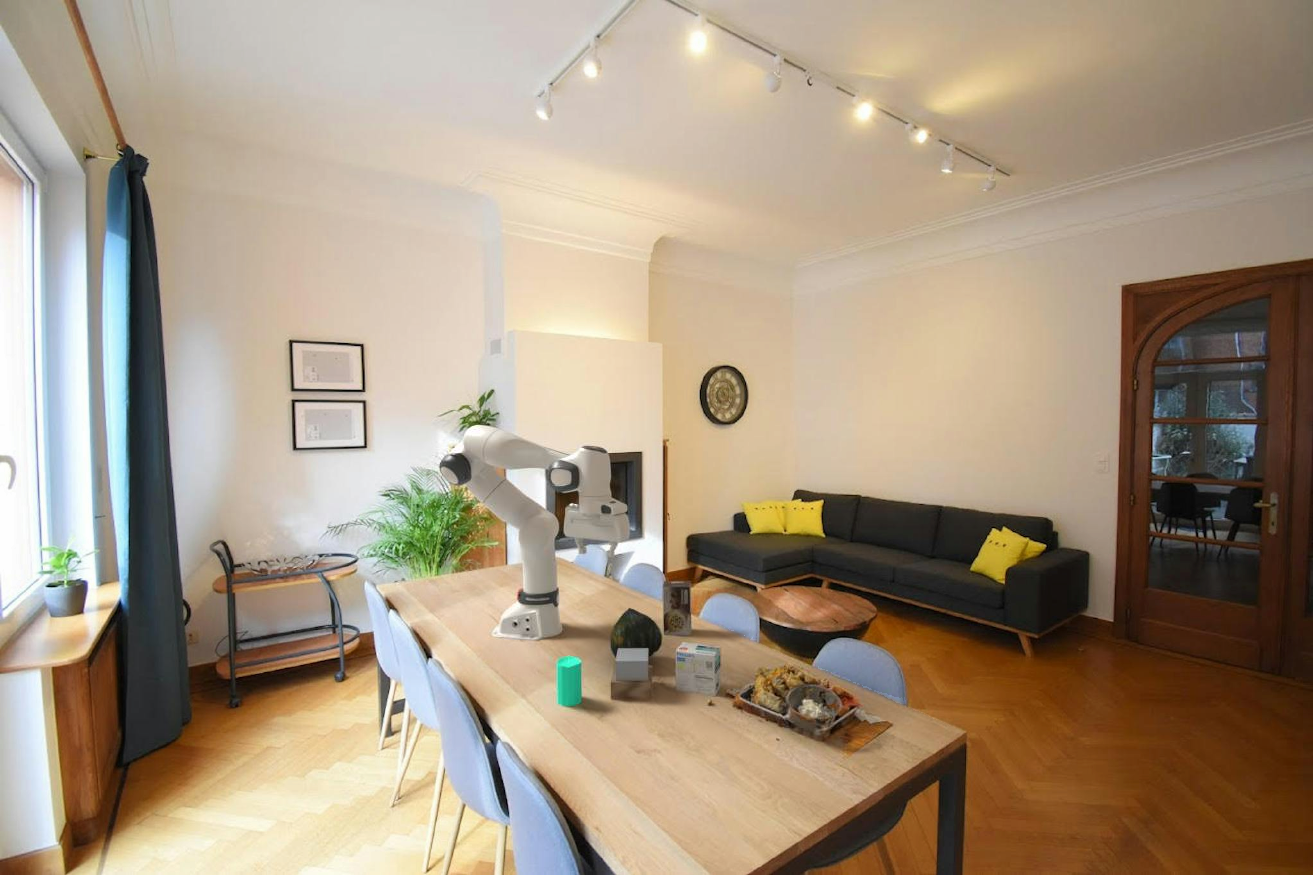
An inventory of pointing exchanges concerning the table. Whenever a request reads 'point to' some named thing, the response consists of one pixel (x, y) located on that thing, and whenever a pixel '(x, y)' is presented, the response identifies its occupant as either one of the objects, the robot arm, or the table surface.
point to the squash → (635, 633)
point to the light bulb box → (698, 668)
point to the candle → (569, 681)
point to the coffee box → (677, 608)
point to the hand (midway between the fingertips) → (596, 555)
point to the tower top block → (632, 664)
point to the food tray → (807, 706)
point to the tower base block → (631, 688)
